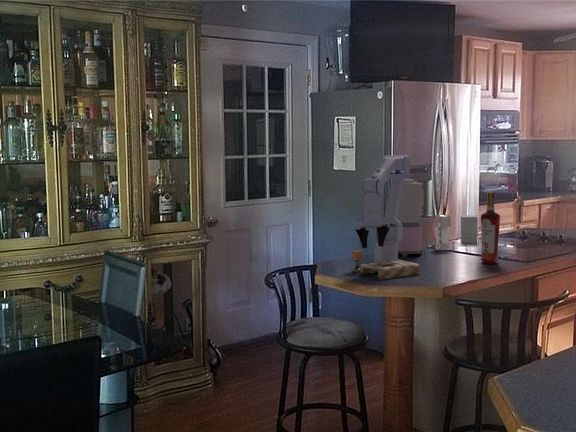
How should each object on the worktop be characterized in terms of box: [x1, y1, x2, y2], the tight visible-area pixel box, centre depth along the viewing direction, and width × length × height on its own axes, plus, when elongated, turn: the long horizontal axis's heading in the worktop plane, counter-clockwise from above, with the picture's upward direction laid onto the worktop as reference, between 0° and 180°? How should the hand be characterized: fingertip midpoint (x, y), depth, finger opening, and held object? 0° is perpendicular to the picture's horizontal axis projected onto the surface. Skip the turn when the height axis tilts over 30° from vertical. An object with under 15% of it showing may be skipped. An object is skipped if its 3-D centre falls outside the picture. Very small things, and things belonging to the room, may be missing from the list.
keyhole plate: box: [360, 259, 421, 280], centre depth 260 cm, size 18×12×4 cm, turn 119°
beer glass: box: [434, 214, 452, 251], centre depth 313 cm, size 7×7×15 cm
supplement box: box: [460, 214, 479, 244], centre depth 332 cm, size 7×7×13 cm
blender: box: [397, 178, 426, 258], centre depth 301 cm, size 16×12×32 cm
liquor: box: [480, 191, 501, 265], centre depth 277 cm, size 7×7×28 cm
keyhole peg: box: [351, 249, 364, 273], centre depth 266 cm, size 4×4×8 cm
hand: (372, 247), depth 262 cm, fingers open, 7 cm apart
